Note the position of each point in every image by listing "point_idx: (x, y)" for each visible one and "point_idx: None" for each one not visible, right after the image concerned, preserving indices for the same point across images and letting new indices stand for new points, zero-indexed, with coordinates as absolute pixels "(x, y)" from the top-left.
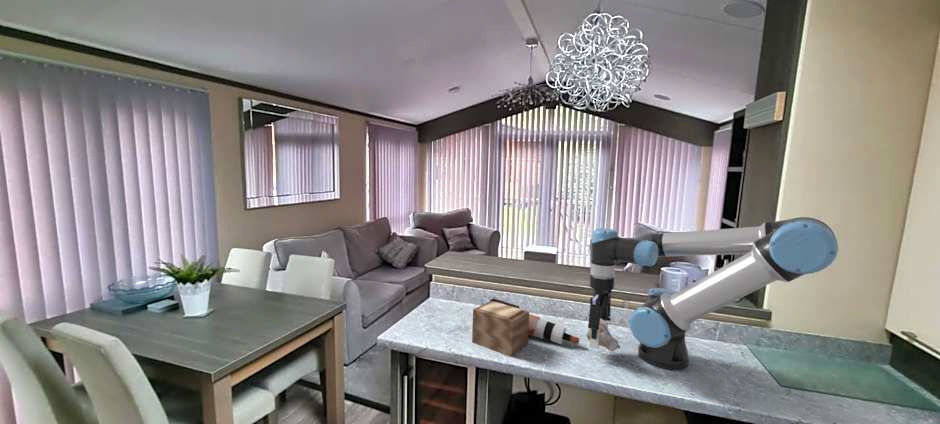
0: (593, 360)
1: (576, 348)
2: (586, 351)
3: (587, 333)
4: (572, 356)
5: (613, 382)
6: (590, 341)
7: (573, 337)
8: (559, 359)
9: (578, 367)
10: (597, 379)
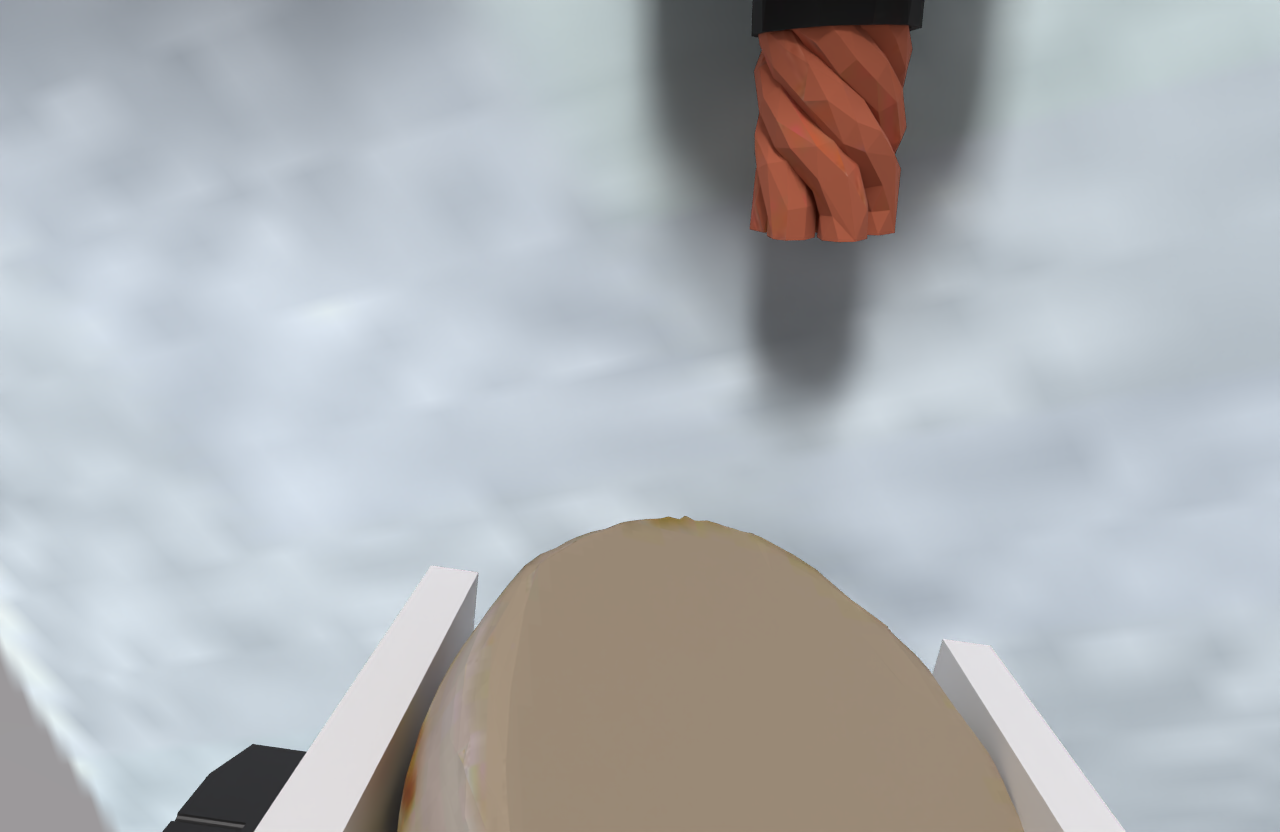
0: (483, 535)
1: (742, 206)
2: (719, 386)
3: (495, 610)
4: (406, 222)
5: (108, 808)
6: (384, 640)
7: (805, 106)
8: (157, 45)
9: (137, 393)
10: (34, 658)
